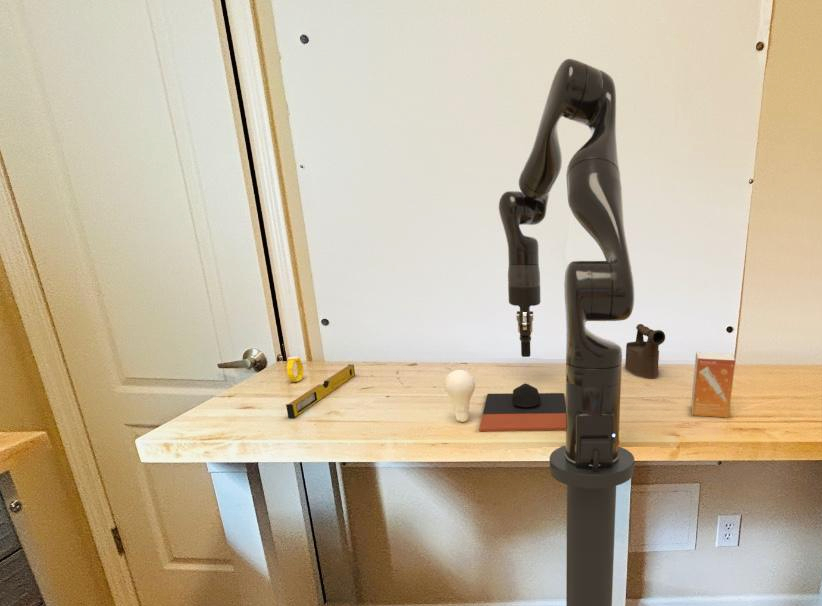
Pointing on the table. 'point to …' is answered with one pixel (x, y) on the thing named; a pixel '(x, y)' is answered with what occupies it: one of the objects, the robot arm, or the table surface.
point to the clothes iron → (644, 352)
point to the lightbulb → (460, 392)
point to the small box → (712, 384)
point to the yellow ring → (290, 368)
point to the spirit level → (319, 391)
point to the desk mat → (524, 414)
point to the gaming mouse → (526, 396)
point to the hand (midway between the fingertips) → (525, 356)
